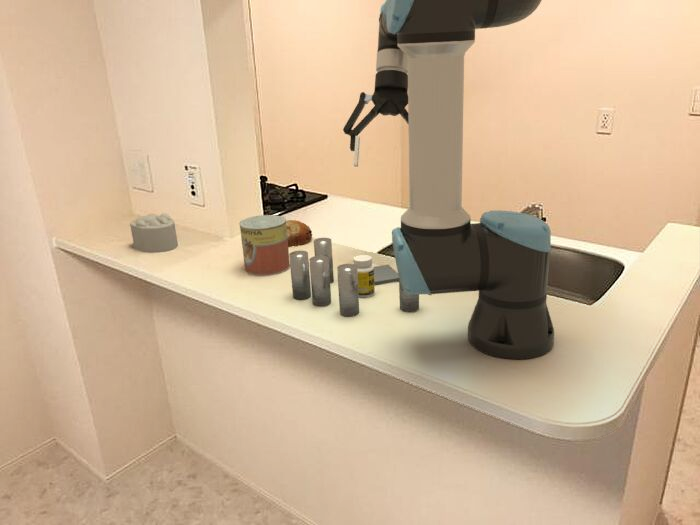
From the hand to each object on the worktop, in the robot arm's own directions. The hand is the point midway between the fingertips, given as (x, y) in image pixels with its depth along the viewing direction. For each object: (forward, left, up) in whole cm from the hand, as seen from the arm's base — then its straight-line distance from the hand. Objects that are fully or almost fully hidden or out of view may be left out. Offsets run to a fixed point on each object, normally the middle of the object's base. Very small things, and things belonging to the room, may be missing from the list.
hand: (385, 167), depth 136 cm
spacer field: (-12, +13, -25) cm, 31 cm away
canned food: (+13, +27, -25) cm, 39 cm away
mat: (-4, +4, -25) cm, 25 cm away
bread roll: (+31, +16, -25) cm, 43 cm away
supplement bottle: (-12, +10, -25) cm, 29 cm away
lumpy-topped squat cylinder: (+43, +53, -25) cm, 73 cm away
